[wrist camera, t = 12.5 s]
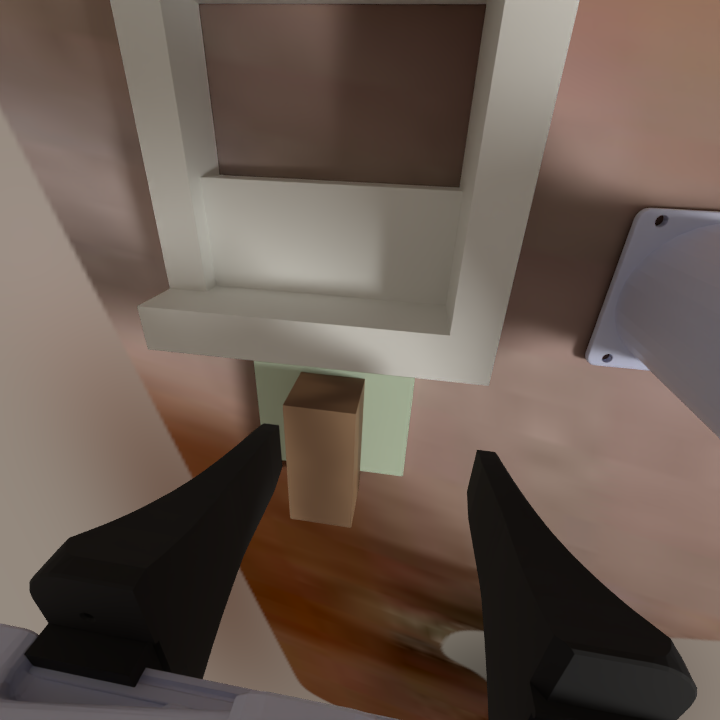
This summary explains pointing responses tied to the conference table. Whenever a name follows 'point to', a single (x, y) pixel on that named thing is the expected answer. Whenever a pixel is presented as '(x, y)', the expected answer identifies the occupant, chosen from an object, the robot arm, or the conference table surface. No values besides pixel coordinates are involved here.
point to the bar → (324, 447)
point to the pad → (380, 412)
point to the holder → (341, 213)
